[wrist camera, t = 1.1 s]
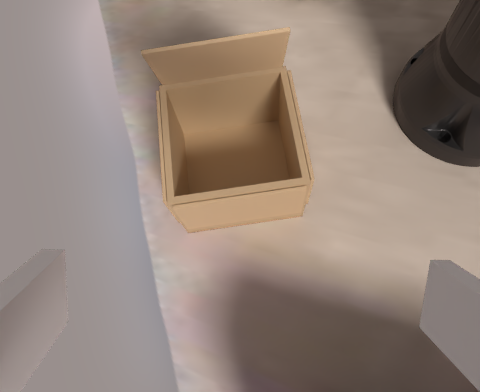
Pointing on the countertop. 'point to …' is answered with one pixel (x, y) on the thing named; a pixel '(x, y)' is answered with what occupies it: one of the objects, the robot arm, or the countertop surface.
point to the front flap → (218, 56)
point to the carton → (233, 150)
